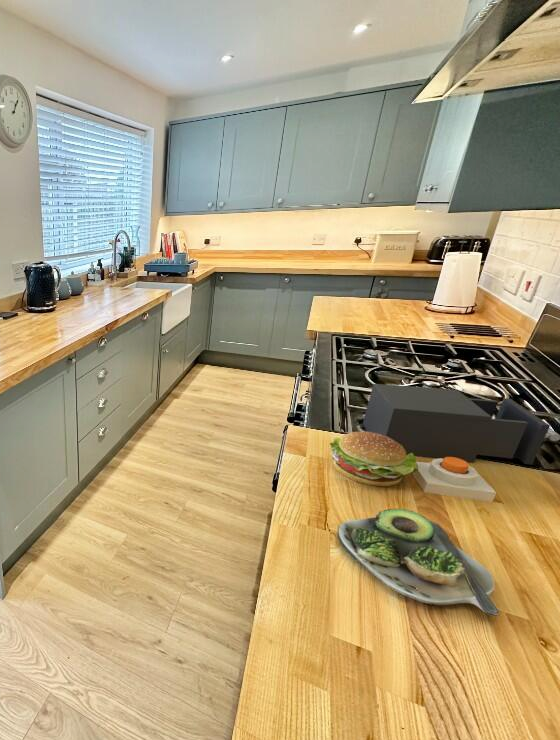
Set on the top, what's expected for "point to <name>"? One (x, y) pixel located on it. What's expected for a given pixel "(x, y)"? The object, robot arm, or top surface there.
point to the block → (452, 482)
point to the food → (372, 458)
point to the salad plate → (417, 559)
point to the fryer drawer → (513, 431)
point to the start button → (455, 465)
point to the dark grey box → (427, 420)
